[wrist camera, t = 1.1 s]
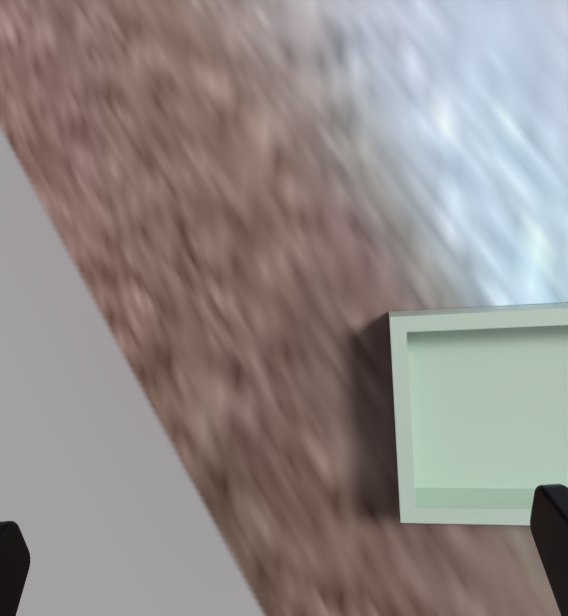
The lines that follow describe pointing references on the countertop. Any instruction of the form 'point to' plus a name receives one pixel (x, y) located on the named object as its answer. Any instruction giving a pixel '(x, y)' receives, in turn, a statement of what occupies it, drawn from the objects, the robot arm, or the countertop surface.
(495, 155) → the countertop surface
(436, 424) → the tray
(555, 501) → the robot arm
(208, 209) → the countertop surface
